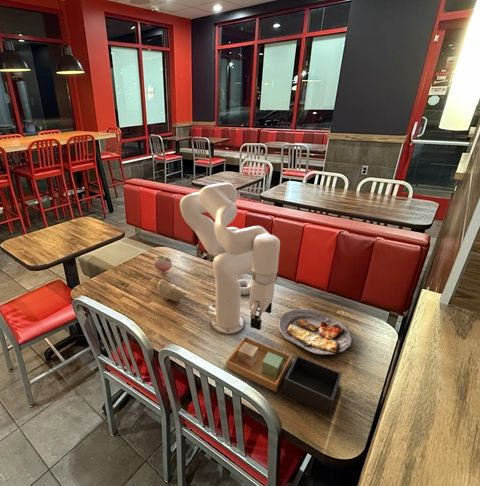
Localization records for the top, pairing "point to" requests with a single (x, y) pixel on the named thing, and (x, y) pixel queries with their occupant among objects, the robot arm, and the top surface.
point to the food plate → (315, 331)
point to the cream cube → (248, 354)
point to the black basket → (312, 384)
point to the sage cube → (272, 365)
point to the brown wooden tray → (258, 365)
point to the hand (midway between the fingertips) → (261, 319)
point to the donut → (245, 286)
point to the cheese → (170, 290)
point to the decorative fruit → (162, 263)
